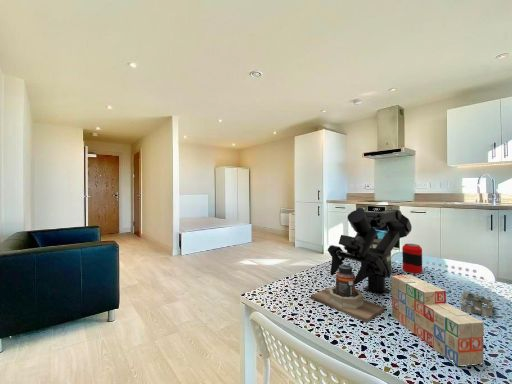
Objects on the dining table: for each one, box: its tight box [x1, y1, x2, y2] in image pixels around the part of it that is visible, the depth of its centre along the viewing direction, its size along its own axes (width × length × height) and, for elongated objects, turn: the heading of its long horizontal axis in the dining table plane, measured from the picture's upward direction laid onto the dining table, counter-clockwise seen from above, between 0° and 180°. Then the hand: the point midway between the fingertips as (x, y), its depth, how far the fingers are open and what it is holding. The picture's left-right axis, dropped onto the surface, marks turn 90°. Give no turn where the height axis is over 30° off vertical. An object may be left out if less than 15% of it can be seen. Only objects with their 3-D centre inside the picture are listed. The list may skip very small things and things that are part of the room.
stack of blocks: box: [390, 274, 485, 366], centre depth 61 cm, size 21×6×12 cm, turn 5°
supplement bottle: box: [335, 264, 356, 298], centre depth 79 cm, size 6×6×11 cm
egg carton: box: [459, 290, 495, 318], centre depth 75 cm, size 11×8×4 cm
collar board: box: [309, 285, 386, 323], centre depth 79 cm, size 11×20×4 cm, turn 38°
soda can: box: [401, 243, 423, 274], centre depth 111 cm, size 8×8×12 cm
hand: (342, 279), depth 78 cm, fingers open, 9 cm apart
